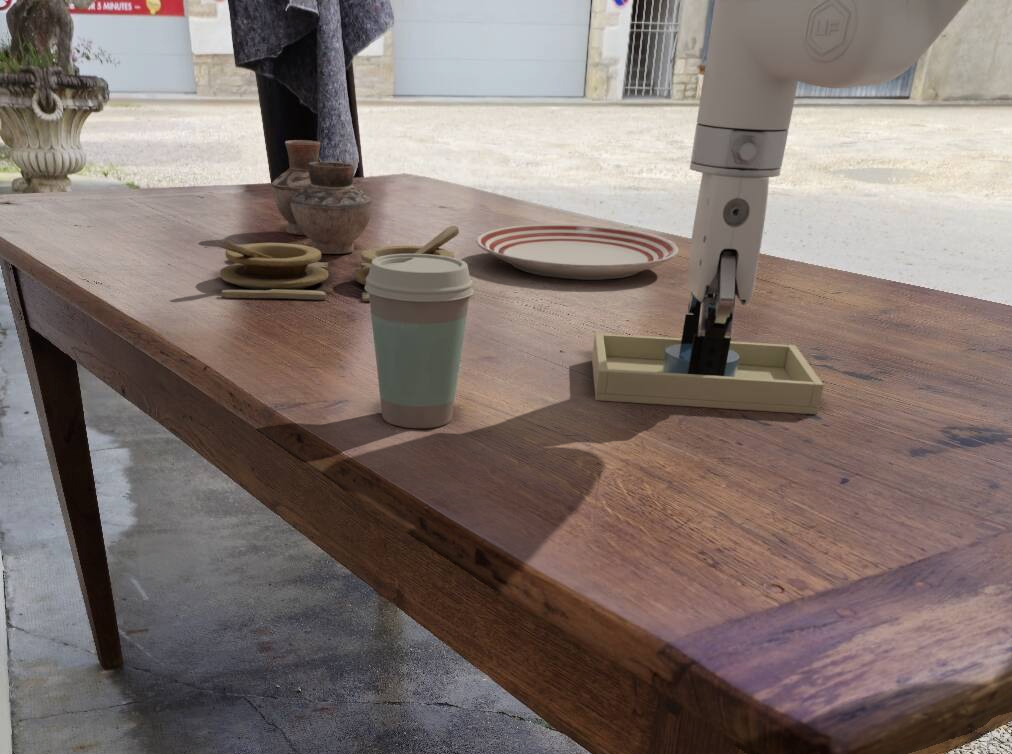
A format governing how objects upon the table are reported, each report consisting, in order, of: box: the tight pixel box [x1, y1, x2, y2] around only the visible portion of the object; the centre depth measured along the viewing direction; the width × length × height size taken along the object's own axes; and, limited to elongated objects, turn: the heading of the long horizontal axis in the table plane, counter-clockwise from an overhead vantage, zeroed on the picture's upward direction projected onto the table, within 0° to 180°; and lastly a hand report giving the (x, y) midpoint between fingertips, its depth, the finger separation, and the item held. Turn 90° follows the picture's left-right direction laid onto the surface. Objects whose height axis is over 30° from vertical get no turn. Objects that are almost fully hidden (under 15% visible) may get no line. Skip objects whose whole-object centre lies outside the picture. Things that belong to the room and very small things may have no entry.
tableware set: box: [219, 225, 460, 302], centre depth 127 cm, size 30×20×6 cm, turn 95°
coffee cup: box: [364, 254, 475, 430], centre depth 84 cm, size 8×9×12 cm
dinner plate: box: [476, 223, 679, 281], centre depth 143 cm, size 27×27×3 cm
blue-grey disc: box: [662, 344, 739, 377], centre depth 97 cm, size 7×7×2 cm
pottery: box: [270, 139, 374, 255], centre depth 148 cm, size 11×25×12 cm, turn 22°
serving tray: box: [591, 332, 825, 415], centre depth 97 cm, size 20×14×3 cm
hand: (700, 368), depth 97 cm, fingers closed on blue-grey disc, 6 cm apart
